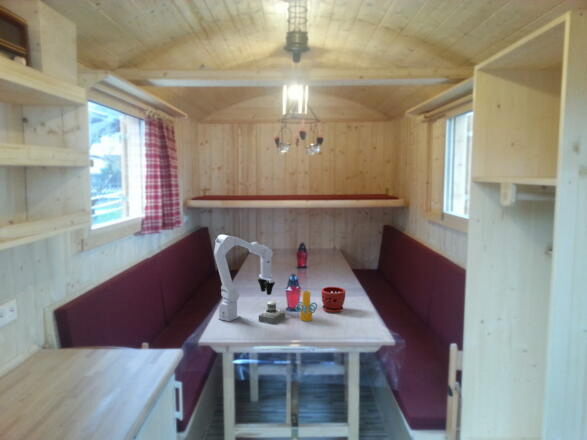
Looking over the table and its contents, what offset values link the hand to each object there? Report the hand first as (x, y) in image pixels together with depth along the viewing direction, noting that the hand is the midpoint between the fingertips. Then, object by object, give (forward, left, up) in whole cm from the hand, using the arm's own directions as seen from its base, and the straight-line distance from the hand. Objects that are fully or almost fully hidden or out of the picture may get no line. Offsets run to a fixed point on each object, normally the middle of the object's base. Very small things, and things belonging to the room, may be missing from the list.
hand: (266, 293), depth 241 cm
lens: (-11, -11, -7) cm, 17 cm away
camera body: (-11, -12, -10) cm, 19 cm away
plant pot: (+19, -32, -10) cm, 39 cm away
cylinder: (-2, -27, -10) cm, 29 cm away
